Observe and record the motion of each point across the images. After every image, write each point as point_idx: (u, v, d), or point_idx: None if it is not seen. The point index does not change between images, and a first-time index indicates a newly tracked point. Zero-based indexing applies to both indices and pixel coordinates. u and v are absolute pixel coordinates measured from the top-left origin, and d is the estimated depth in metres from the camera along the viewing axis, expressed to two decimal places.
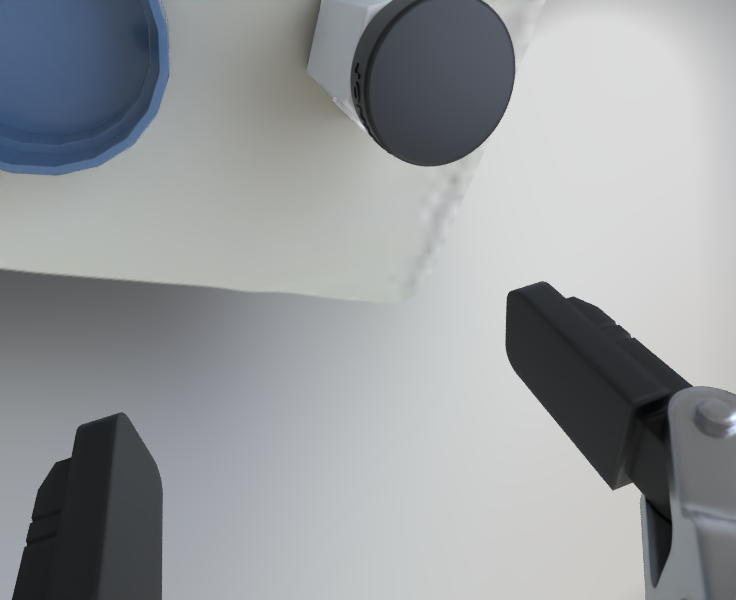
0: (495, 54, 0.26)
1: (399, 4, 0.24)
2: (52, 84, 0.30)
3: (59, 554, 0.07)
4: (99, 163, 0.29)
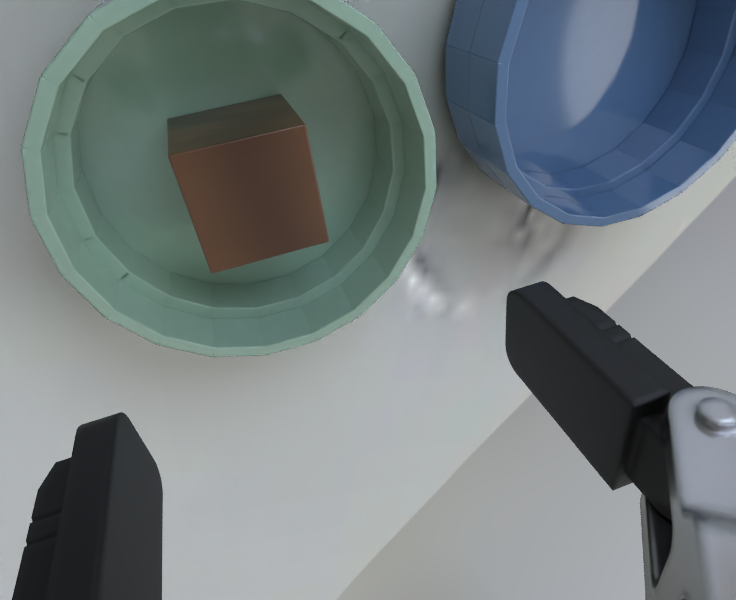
0: None
1: None
2: (631, 66, 0.26)
3: (59, 554, 0.07)
4: None
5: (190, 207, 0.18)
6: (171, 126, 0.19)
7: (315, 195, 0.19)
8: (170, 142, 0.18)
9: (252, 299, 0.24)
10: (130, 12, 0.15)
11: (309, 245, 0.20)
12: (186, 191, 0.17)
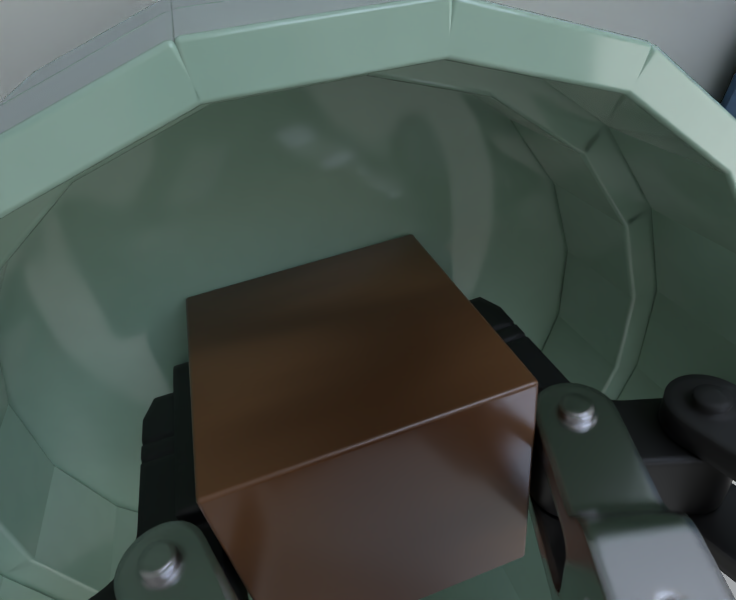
0: None
1: None
2: None
3: (180, 464, 0.08)
4: None
5: (248, 576, 0.07)
6: (197, 335, 0.09)
7: (521, 497, 0.08)
8: (198, 418, 0.07)
9: None
10: (68, 169, 0.04)
11: (487, 570, 0.09)
12: (239, 552, 0.07)
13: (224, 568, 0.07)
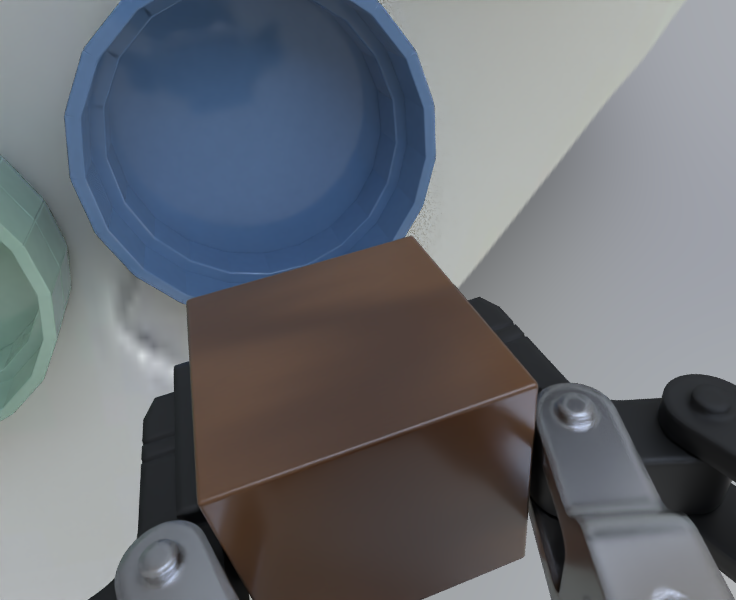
0: None
1: None
2: (320, 150, 0.25)
3: (180, 464, 0.08)
4: (433, 155, 0.22)
5: (249, 577, 0.07)
6: (197, 338, 0.09)
7: (521, 498, 0.08)
8: (199, 419, 0.07)
9: None
10: None
11: (487, 571, 0.09)
12: (240, 554, 0.07)
13: (225, 568, 0.07)
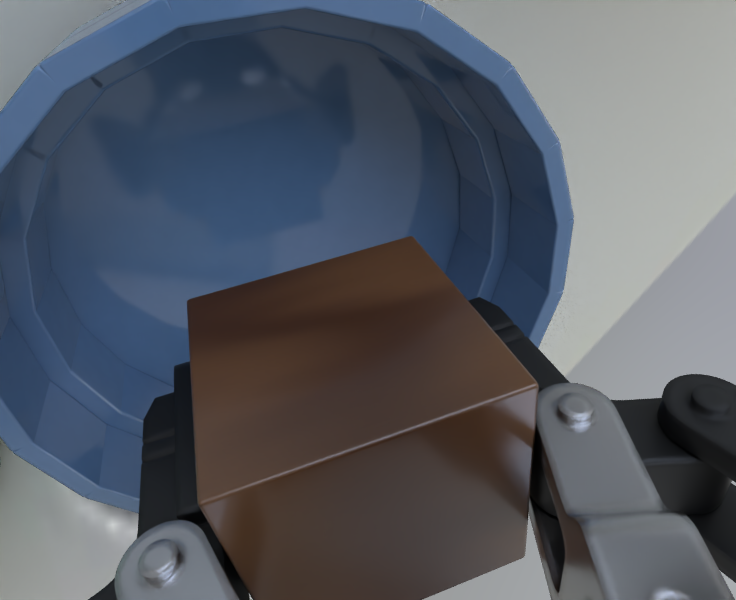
0: None
1: None
2: None
3: (180, 464, 0.08)
4: (561, 289, 0.14)
5: (250, 577, 0.07)
6: (198, 338, 0.09)
7: (521, 498, 0.08)
8: (199, 419, 0.07)
9: None
10: None
11: (487, 571, 0.09)
12: (241, 553, 0.07)
13: (225, 568, 0.07)
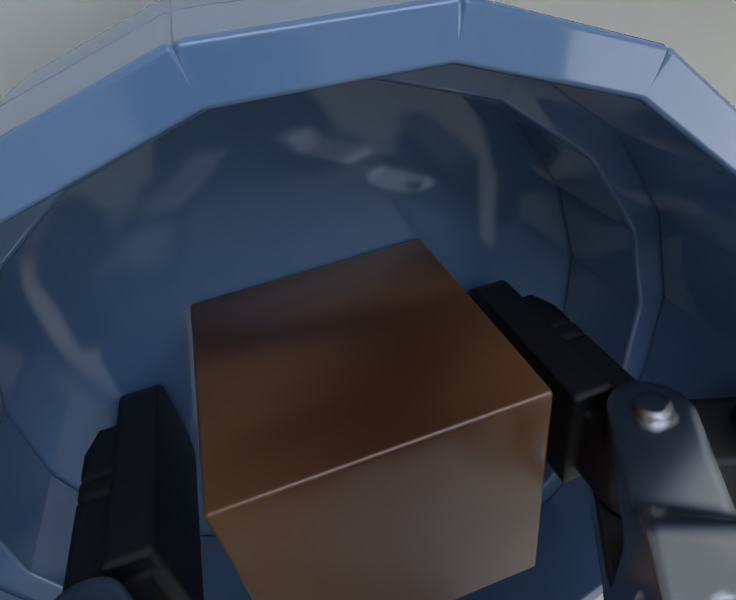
0: None
1: None
2: None
3: (113, 509, 0.08)
4: None
5: (257, 589, 0.07)
6: (202, 343, 0.09)
7: (533, 507, 0.08)
8: (205, 428, 0.07)
9: None
10: None
11: (497, 581, 0.09)
12: (247, 566, 0.07)
13: None
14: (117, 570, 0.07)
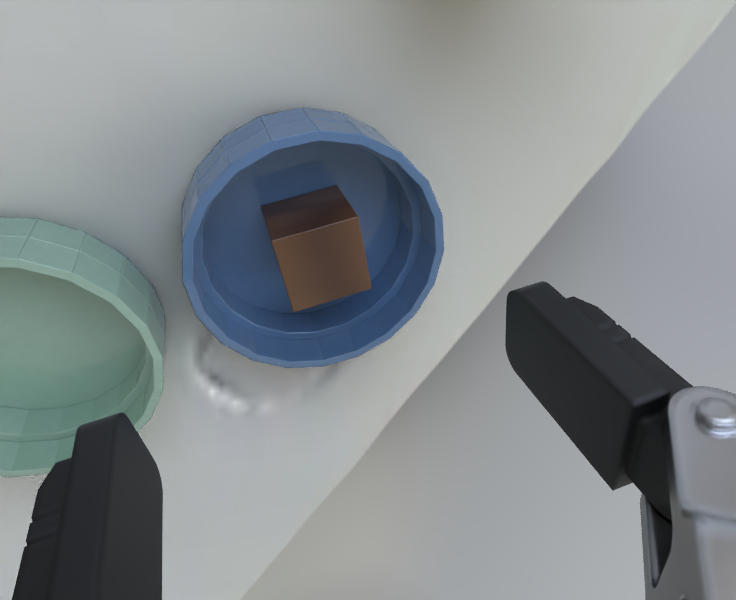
0: None
1: None
2: None
3: (59, 554, 0.07)
4: (442, 249, 0.30)
5: (283, 271, 0.27)
6: (265, 214, 0.29)
7: (363, 259, 0.28)
8: (269, 229, 0.27)
9: (57, 424, 0.32)
10: None
11: (358, 291, 0.29)
12: (281, 261, 0.27)
13: None
14: None
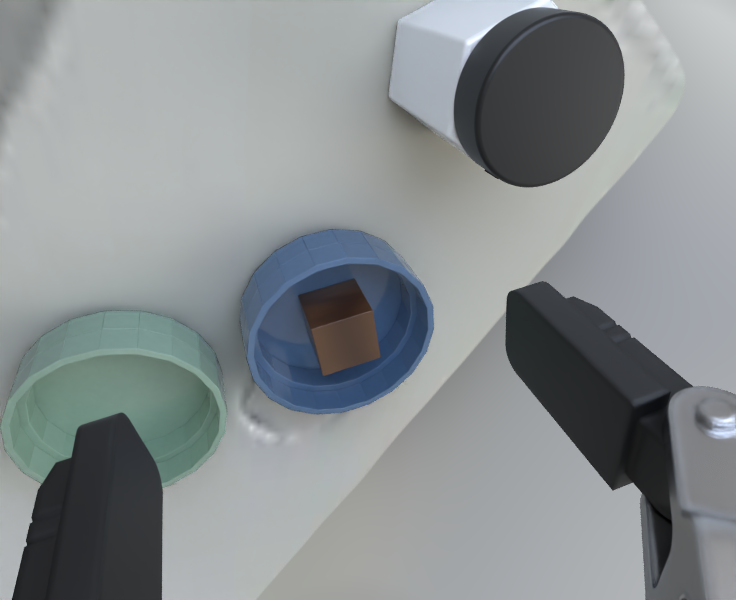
0: (559, 40, 0.23)
1: (465, 123, 0.25)
2: None
3: (59, 554, 0.07)
4: (432, 328, 0.40)
5: (317, 348, 0.37)
6: (303, 303, 0.39)
7: (375, 338, 0.39)
8: (308, 318, 0.37)
9: None
10: (48, 373, 0.32)
11: (371, 360, 0.40)
12: (316, 342, 0.37)
13: None
14: None
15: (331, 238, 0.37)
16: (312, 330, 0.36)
